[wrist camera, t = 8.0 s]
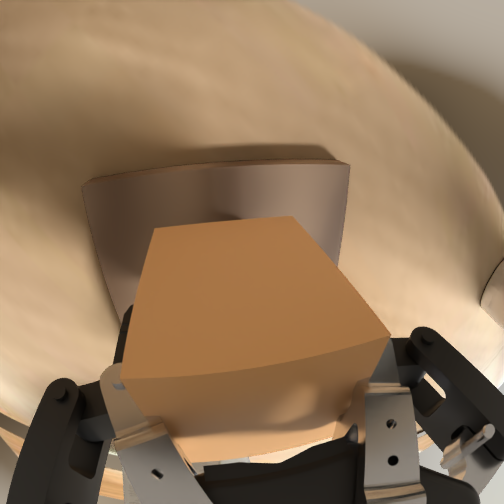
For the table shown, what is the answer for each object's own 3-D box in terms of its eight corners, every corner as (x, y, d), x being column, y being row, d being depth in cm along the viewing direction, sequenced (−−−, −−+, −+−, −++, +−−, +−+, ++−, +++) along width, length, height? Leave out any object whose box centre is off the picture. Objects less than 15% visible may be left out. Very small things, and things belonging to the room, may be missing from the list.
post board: (337, 160, 15) (418, 196, 9) (307, 363, 23) (334, 425, 17) (91, 179, 12) (25, 231, 6) (156, 384, 21) (156, 452, 15)
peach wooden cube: (292, 215, 11) (391, 334, 5) (285, 317, 14) (336, 435, 8) (154, 228, 10) (119, 378, 4) (176, 330, 13) (181, 463, 7)
